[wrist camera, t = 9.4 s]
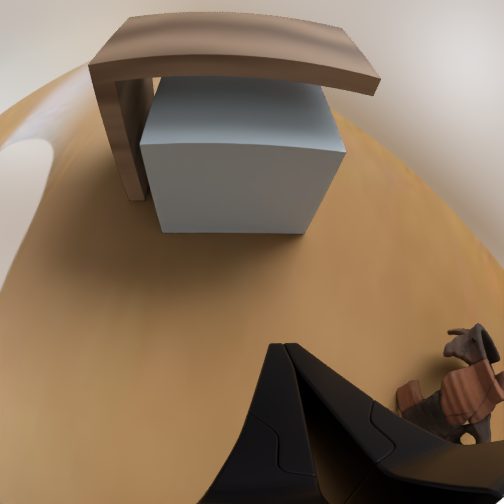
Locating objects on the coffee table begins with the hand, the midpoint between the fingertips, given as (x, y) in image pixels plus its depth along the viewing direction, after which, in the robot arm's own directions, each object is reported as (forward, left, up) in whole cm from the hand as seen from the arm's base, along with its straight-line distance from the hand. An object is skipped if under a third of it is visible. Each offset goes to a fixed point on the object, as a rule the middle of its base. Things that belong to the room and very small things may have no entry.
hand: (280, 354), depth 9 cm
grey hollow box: (+13, +13, -13) cm, 22 cm away
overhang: (+12, +13, -13) cm, 22 cm away
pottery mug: (+9, -15, -13) cm, 22 cm away
